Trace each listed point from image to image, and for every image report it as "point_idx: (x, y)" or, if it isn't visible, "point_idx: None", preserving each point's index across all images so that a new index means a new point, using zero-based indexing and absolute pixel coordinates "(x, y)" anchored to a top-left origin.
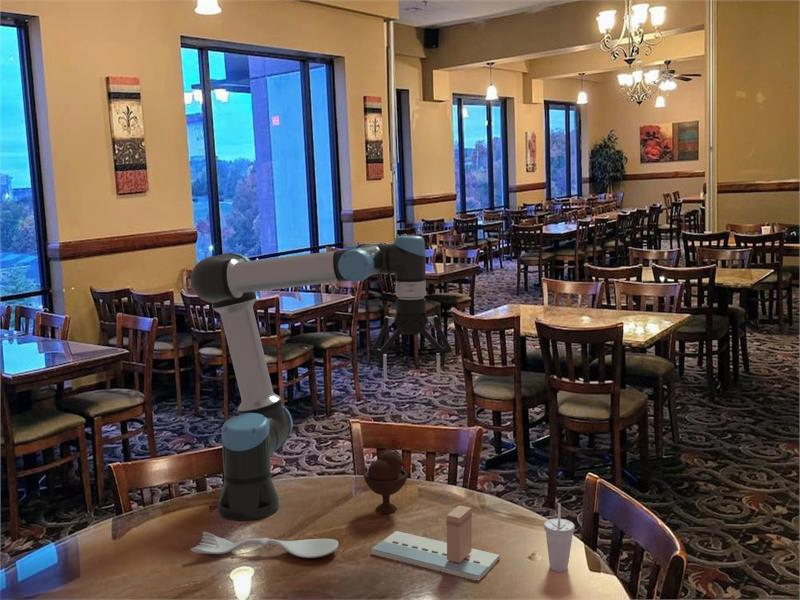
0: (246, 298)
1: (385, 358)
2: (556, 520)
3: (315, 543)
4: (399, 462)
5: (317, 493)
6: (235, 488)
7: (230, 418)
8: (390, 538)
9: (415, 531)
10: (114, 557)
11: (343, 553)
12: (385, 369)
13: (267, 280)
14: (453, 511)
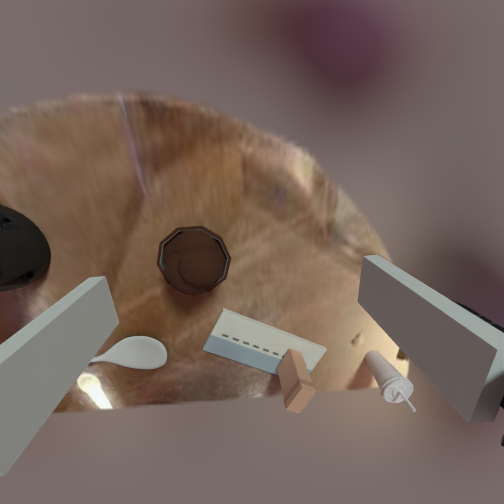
0: None
1: (14, 452)
2: (399, 386)
3: (140, 342)
4: (216, 279)
5: (83, 185)
6: None
7: None
8: (218, 327)
9: (244, 298)
10: None
11: (174, 346)
12: (76, 371)
13: None
14: (294, 401)
